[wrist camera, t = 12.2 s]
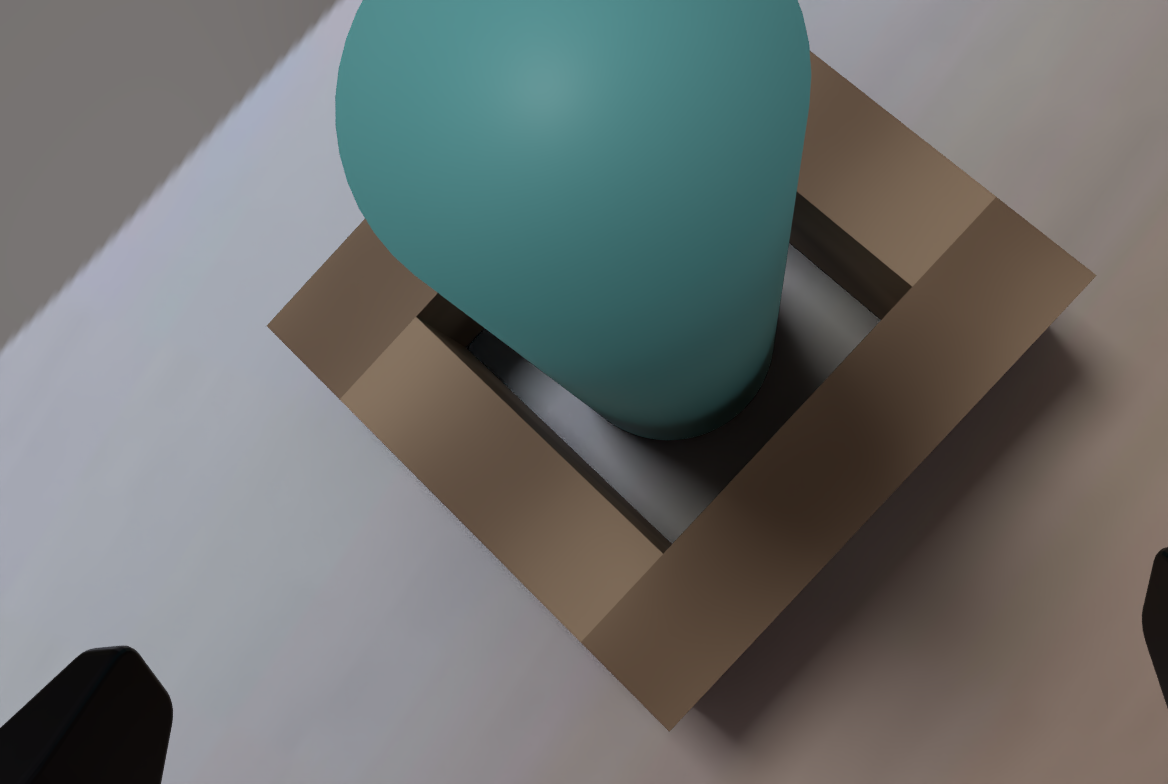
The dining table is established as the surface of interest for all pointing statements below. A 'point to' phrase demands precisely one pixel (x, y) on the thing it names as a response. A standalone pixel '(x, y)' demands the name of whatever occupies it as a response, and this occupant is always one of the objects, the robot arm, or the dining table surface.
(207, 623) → the dining table surface
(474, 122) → the peg
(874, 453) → the block
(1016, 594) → the dining table surface
